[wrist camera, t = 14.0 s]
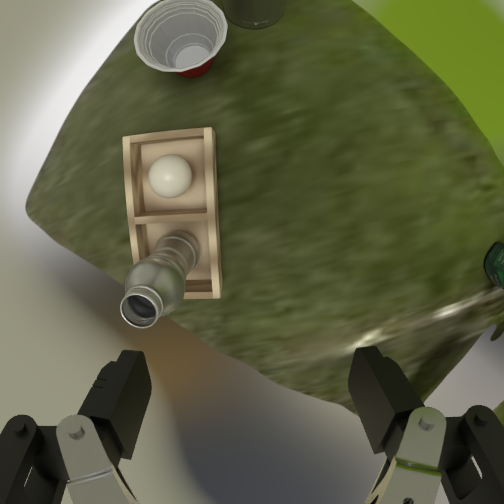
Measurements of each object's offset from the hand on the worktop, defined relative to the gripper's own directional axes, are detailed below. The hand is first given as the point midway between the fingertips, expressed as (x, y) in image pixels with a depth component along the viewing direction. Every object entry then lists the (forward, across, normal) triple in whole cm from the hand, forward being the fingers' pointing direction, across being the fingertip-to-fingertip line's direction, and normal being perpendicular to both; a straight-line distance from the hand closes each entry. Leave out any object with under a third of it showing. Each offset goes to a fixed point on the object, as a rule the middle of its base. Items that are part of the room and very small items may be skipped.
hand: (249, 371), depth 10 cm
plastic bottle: (+34, +10, +6) cm, 36 cm away
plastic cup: (+35, +7, -23) cm, 43 cm away
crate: (+34, +10, 0) cm, 36 cm away
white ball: (+34, +10, -5) cm, 36 cm away
